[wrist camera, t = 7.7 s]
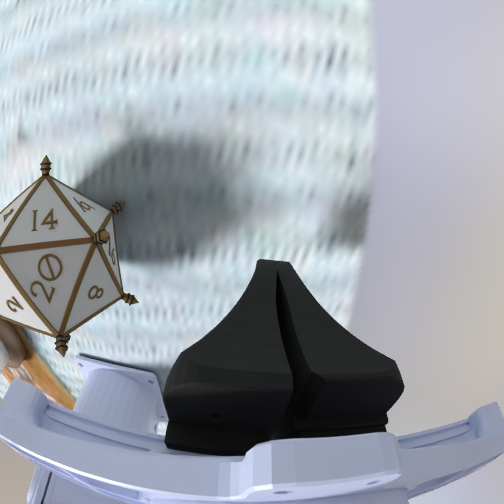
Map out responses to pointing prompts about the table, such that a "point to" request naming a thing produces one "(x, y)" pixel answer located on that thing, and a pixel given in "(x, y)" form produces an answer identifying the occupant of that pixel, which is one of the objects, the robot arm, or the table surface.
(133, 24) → the table surface
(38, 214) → the game die
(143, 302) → the table surface
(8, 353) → the dome
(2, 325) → the dome base
